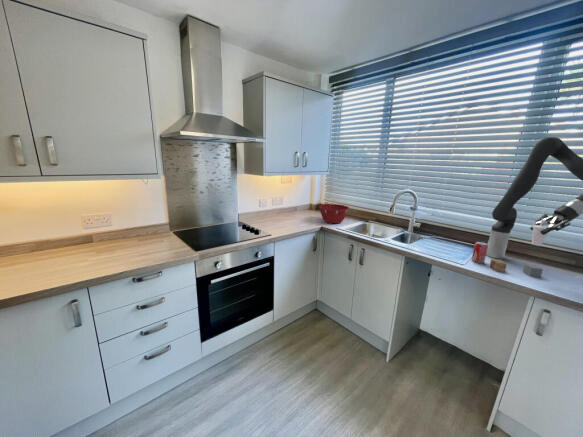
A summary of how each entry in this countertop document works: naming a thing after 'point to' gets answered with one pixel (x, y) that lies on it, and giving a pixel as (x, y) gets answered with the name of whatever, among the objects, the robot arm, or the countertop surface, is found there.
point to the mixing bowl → (333, 212)
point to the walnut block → (498, 265)
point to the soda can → (479, 252)
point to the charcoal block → (532, 270)
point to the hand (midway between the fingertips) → (536, 231)
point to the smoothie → (538, 234)
